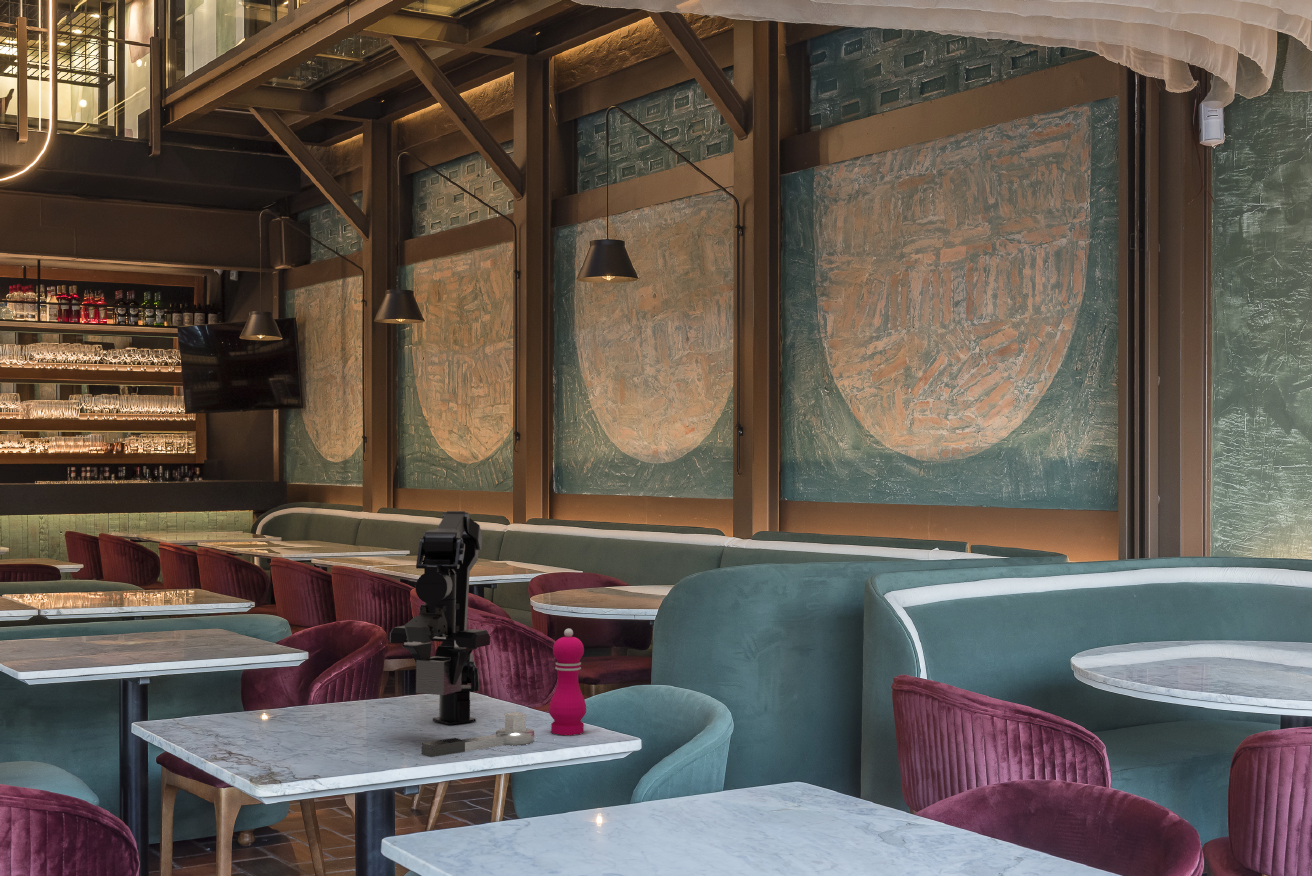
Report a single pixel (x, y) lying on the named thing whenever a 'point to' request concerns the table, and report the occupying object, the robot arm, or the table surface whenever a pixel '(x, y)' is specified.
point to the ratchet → (484, 738)
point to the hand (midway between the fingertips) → (438, 683)
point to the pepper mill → (567, 687)
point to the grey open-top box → (435, 676)
